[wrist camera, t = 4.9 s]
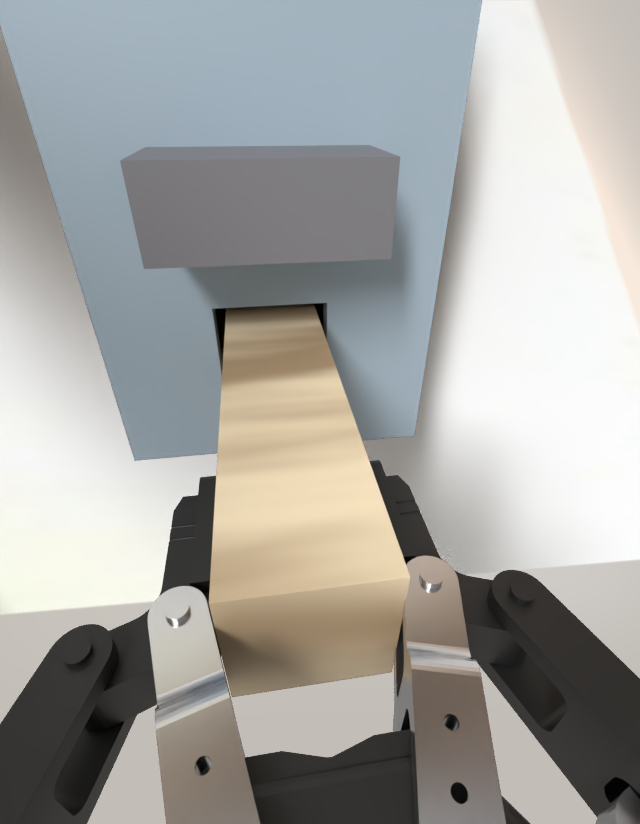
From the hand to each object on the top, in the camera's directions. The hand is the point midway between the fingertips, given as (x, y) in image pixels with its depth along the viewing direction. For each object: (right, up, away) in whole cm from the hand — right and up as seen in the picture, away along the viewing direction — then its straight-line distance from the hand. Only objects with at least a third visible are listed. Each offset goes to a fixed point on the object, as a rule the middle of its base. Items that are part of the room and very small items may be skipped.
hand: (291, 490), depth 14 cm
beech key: (-2, +6, +9) cm, 11 cm away
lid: (-1, +11, +5) cm, 12 cm away
